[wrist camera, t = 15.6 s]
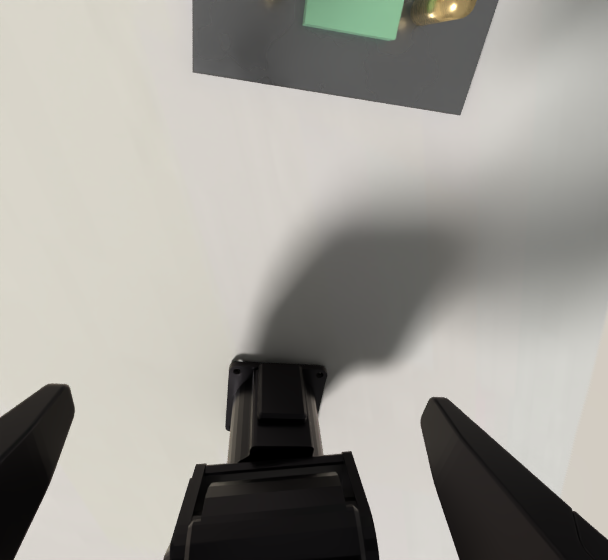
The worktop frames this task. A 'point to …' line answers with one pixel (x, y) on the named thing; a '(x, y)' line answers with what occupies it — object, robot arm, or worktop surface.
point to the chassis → (346, 51)
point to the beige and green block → (355, 17)
